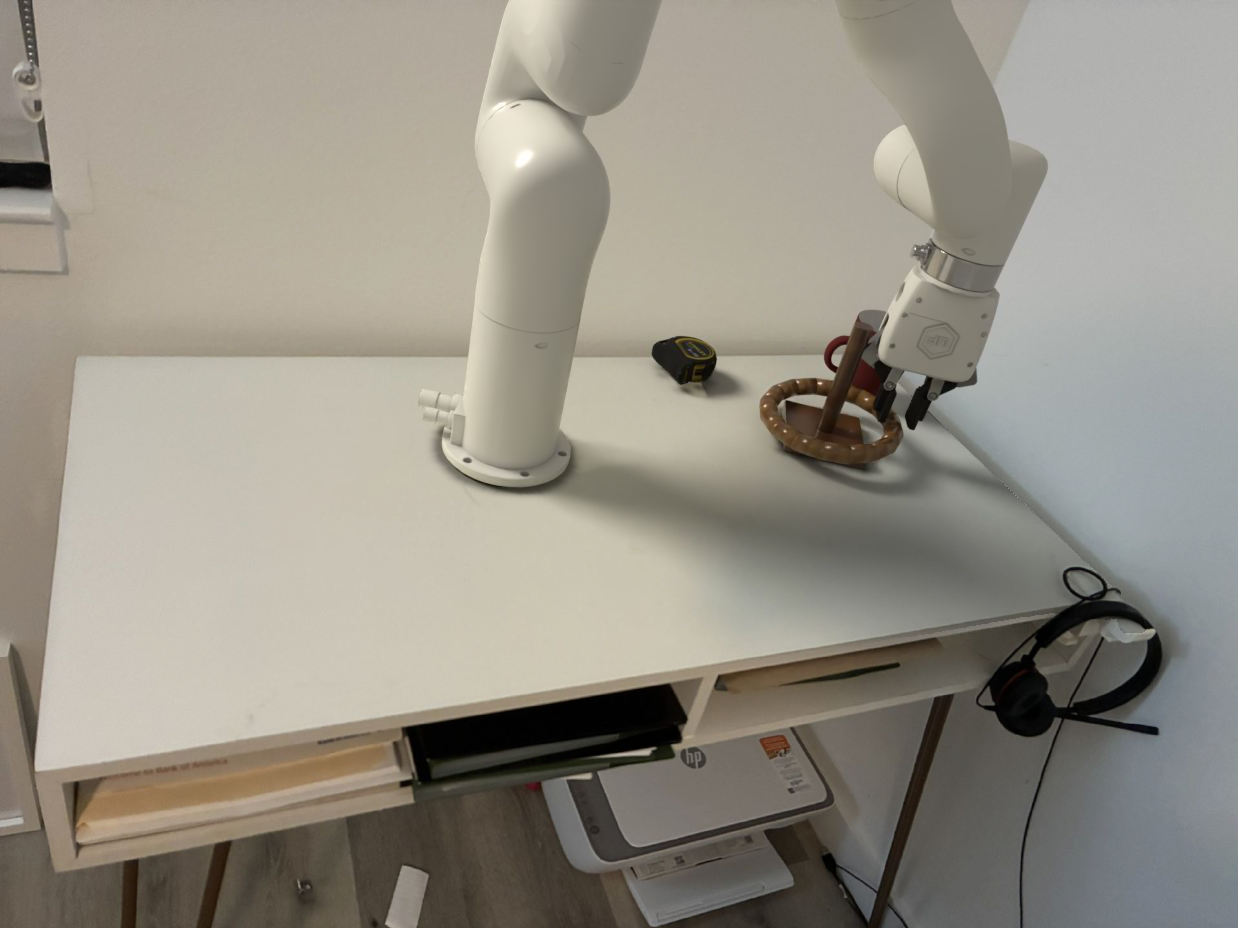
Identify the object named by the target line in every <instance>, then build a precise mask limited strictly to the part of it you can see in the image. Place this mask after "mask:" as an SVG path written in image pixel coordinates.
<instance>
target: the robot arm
mask: <svg viewBox="0 0 1238 928" xmlns="http://www.w3.org/2000/svg"><path fill="white" fill-rule="evenodd" d="M662 2H663V0H508V1H507V4H506V6H505V9H504V12H503V15H502V18H501V22H500V25H499V30H498V34H497V37H496V41H495V45H494V50H493V54H492V57H491V62H490V66H489V69H488V70H489V71H488V75H487V79H486V82H485V88H484V90H483V95H482V100H481V104H480V108H479V113H478V117H477V118H478V119H477V121H476V122H477V123H476V128H475V135H474V155H475V161H476V164H477V168H478V171H479V173H480V176H481V178H482V181H483V183H484V186H485V189H486V192H487V194H488V197H489V216H488V223H487V229H486V234H485V238H484V242H483V245H482V250H481V254H480V259H479V265H478V271H477V278H476V286H475V294H474V306H473V313H472V314H473V315H472V320H471V321H472V322H471V330H470V338H469V346H468V356H467V364H466V370H465V371H466V372H465V380H464V388H463V394H460V393H455V392H454V393H453V395H449V394H444V393H441V392H440V391H436V390H432V389H427V388H422V389H421V390H420V393H419V396H418V400H417V407H418V408H419V409H423V410H424V411H423V415H422V420H423V421H424V422H429V423H433V424H439V425H444V428H443V430H442V434H441V448H442V452H443V454H444V456H445V458H446V459H447V460H448V462H449V463H451V465H452V466H453V467H454V468H456V469H457V470H458V471H460V472H461V473H462V474H464V475H466V476H468V477H470V478H472V479H474V480H477V481H480V482H482V483H485V484H488V485H489V484H490V485H493V486H498V487H506V488H527V487H536V486H539V485H544V484H546V483H549V482H551V481H553V480H555V479H557V478H558V477H559V476H560V475H562V474H563V473H564V472H565V470H566V469H567V468H568V465H569V463H570V459H571V453H572V449H571V443H570V441H569V439H568V437H567V435H566V434H565V433H564V431H562V430H561V428H560V427H561V423H562V416H563V411H564V407H565V402H566V396H567V391H568V386H569V380H570V376H571V370H572V366H573V360H574V355H575V349H576V345H577V339H578V333H579V329H580V323H581V318H582V312H583V307H584V302H585V297H586V292H587V288H588V285H589V284H588V283H589V280H590V276H591V275H590V274H591V271H592V267H593V265H594V262H595V258H596V255H597V253H598V251H599V247H600V244H601V241H602V239H603V236H604V233H605V231H606V227H607V224H608V219H609V215H610V211H611V184H610V180H609V175H608V172H607V169H606V167H605V163H603V160H602V158H601V155H600V154H599V153H598V151H597V149H596V148H595V147H594V145H593V144H592V143H591V141H590V140H589V139H588V137H587V136H586V135H585V133H584V130H585V126H586V123H587V119H588V117H597V116H602V115H605V114H607V113H609V112H611V111H613V110H614V109H616V108H617V107H618V106H620V105H621V104H622V103H623V102H624V101H625V100H626V99H627V98H628V96H629V95H630V94H631V92H632V90H633V88H634V86H635V84H636V82H637V80H638V78H639V75H640V73H641V69H642V67H643V63H644V61H645V58H646V57H645V56H646V54H647V50H648V47H649V43H650V41H651V37H652V34H653V31H654V28H655V24H656V22H657V18H658V14H659V11H660V9H661V5H662ZM835 2H836V7H837V10H838V14H839V19H840V22H841V26H842V30H843V35H844V38H845V42H846V45H847V48H848V50H849V51H850V53H851V54H852V57H853V58H854V60H855V61H856V62H857V64H858V66H859V67H860V68H861V70H862V71H863V73H864V75H865V76H866V77H867V79H868V80H869V81H870V82H871V83H872V84H873V85H874V87H875V88H876V89H877V90H878V91H879V92H880V93H881V94H882V95H883V96H884V97H885V99H886V100H887V101H888V102H889V104H890V105H891V106H892V107H893V109H894V110H895V112H896V113H897V114H898V117H900V119H901V120H902V122H903V124H902V125H900V126H897V127H896V128H894V129H892V130H891V131H890V132H889V133H887V134H886V135H885V136H884V137H883V139H881V141H880V143H879V144H878V145H877V148H876V150H875V153H874V157H873V173H874V177H875V179H876V182H877V183H878V185H879V187H880V188H881V189H882V191H883V192H884V193H885V194H886V195H887V196H888V197H890V198H891V199H892V200H893V201H894V202H896V203H897V204H899V205H900V206H902V208H904V209H906V211H908V212H910V213H911V214H913V215H914V216H916V217H917V218H918V219H920V220H921V221H923V222H924V223H925V224H926V225H928V226H929V227H930V228H931V229H933V233H932V235H931V238H928V241H927V242H926V243H925V244H921V245H920V244H919V245H918V244H913V245H912V248H911V250H910V253H909V254H910V255H909V258H910V259H911V258H912V259H916V261H917V262H919V263H920V264H915V265H913V266H912V268H911V270H910V271H909V272H908V274H907V275H906V277H905V278H904V280H903V281H902V283H901V285H900V287H899V288H898V289H897V292H896V293H895V295H894V297H893V299H892V301H891V302H890V304H889V307H888V309H887V311H886V312H887V313H886V315H885V317H884V319H883V321H882V323H881V326H880V328H879V331H878V332H877V333H876V334H875V335H874V336H873V337H872V338H871V339H870V340H869V342H868V344H867V347H866V348H865V350H864V352H863V355H862V358H861V359H862V360H864V361H865V362H866V363H867V364H868V365H870V366H871V367H873V368H874V369H875V371H876V373H877V375H878V377H879V378H880V380H881V382H882V383H881V385H880V388H879V390H878V393H877V395H876V397H875V400H874V403H873V410H875V411H876V415H877V419H876V420H877V422H878V423H880V422H881V423H883V422H885V421H886V419H887V417H888V414H889V412H890V410H891V409H892V408H893V405H894V403H895V400H896V398H897V397H898V396H897V394H898V393H897V392H898V391H897V389H896V388H897V387H898V386H897V384H898V382H899V380H900V379H901V377H902V376H901V374H902V373H903V371H904V372H909V373H913V374H917V375H920V376H925V378H924V382H923V384H922V385H918V386H917V387H916V388H915V390H914V392H913V394H912V397H911V399H910V402H909V403H908V406H907V408H906V410H905V413H904V420H905V424H906V427H907V428H908V430H910V431H915V430H916V428H917V426H918V424H919V422H923V421H924V420H925V418H926V416H927V412H928V410H929V408H930V406H931V404H932V402H934V401H937V400H938V399H939V398H940V396H943V395H944V394H947V393H949V392H951V391H953V390H955V389H956V388H959V389H960V388H964V387H971V386H975V385H976V384H977V383H978V370H977V367H978V364H979V362H980V359H981V357H982V355H983V352H984V349H985V346H986V344H987V341H988V338H989V335H990V333H991V330H992V326H993V323H994V321H995V317H996V313H997V311H998V306H999V303H1000V297H1001V295H1000V292H999V291H998V290H997V288H996V285H997V283H998V280H999V278H1000V276H1001V274H1002V271H1003V270H1004V268H1005V265H1006V263H1007V261H1008V260H1009V257H1010V254H1011V253H1012V251H1013V248H1014V246H1015V244H1016V242H1017V240H1018V238H1019V235H1020V232H1021V231H1022V229H1023V227H1024V224H1025V222H1026V220H1027V218H1028V216H1029V213H1030V212H1031V209H1032V207H1033V205H1034V203H1035V201H1036V199H1037V196H1038V195H1039V192H1040V190H1041V188H1042V186H1043V183H1044V181H1045V179H1046V176H1047V174H1048V168H1049V163H1048V159H1047V157H1046V156H1045V154H1043V153H1042V152H1041V151H1039V150H1037V149H1036V148H1034V147H1032V146H1029V145H1027V144H1024V143H1022V142H1018V141H1016V140H1011V139H1009V135H1008V129H1007V128H1008V127H1007V125H1006V119H1005V116H1004V113H1003V110H1002V109H1003V108H1002V106H1001V103H1000V100H999V98H998V95H997V92H996V90H995V88H994V86H993V84H992V82H991V81H992V80H990V78H989V76H988V74H987V71H986V70H985V68H984V66H983V64H982V62H981V60H980V58H979V56H978V54H977V52H976V50H975V48H974V45H973V44H972V41H971V39H970V37H969V35H968V33H967V31H966V30H965V28H964V26H963V24H962V23H961V21H960V19H959V17H958V16H957V13H956V11H955V8H954V5H953V1H952V0H835ZM877 352H878V354H877ZM903 374H904V373H903ZM903 374H902V375H903ZM900 376H901V377H900ZM899 378H900V379H899ZM881 423H880V424H881Z"/></svg>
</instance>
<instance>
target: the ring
mask: <svg viewBox="0 0 1238 928" xmlns="http://www.w3.org/2000/svg"><path fill="white" fill-rule="evenodd" d="M833 380H834V379H825V378H819V377H802V378H791V379H788V380H784V381H781V382H779V383H776V384H774V385H773V384H772V386H770V388H768V390H767V391H766V392H765V393H764V394H763V395H762V396H761V398H760V400H759V418H760V421H761V422H762V423H763V425H764V426H765V428H766V429H767V430H768V432H769V433H770V435H772V437H774V438H775V439H777V440H778V441H779V442H781V443H782V444H783V443H784V444H785V445H787V446H788V447H790V448H791V449H793V450H795V451H798V452H800V453H803V454H806V455H808V456H807V457H809V456H811V457H810V458H813V457H814V459H817V460H820V461H824V462H830V461H831V462H830V463H834V462H837V463H836V464H839V463H844V464H857V463H865V464H866V463H868V464H869V463H875V462H877V461H880V460H882V459H884V458H886V457H888V456H890V455H893V454H894V453H895V452H896V451H897V449H898V447H899V446H900V444H901V443H902V441H903V439H904V435H905V433H904V430H903V426H902V422H901V419H900V415H898V414H897V413H896V412H895V411H894V410H893V409H892V408H891V410H890V412H889V414H888V417H887V419H886V421H885V422H883V423H881V422H879V424H880V425H881V426H882V430H883V435H882V436H881V438H879V439H876V440H874V441H872V442H869V443H864V444H859V445H844V444H838V443H831V442H825V441H822V440H819V439H817V438H814V437H811V436H809V435H806V434H803V433H801V432H800V431H798V430H797V429H795V428H794V427H792V426H791V425H789V424H787V423H786V422H785V421H784V419H783V418H782V415H781V414H780V413H779V405H780V404H781V403H782V401H785V400H788V399H791V398H792V397H796V396H797V397H799V396H821V397H826V398H827V396H828V393H829V390H830V388H831V385H832V383H833ZM875 397H876V396H874V395H872V394H871V393H869V392H867V391H865V390H863V389H861V388H858V387H855V386H852V385H851V387H850V390H849V392H848V395H847V397H846V400H845V402H846V403H849V404H852V405H855V406H857V407H858V408H860V409H861V410H863V411H864V412H867V413H868V414H870V415H872V416H873V417H874V418H875V419H876V420H877V415H876V411H875V410H873V403H874V400H875Z"/></svg>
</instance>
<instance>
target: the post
mask: <svg viewBox="0 0 1238 928" xmlns="http://www.w3.org/2000/svg"><path fill="white" fill-rule="evenodd" d="M854 324H855V325H854ZM854 324H853V326H854V327H853V326H852V329H853V330H852V329H851V331H852V333H851V332H850V334H851V335H850V334H849V336H850V338H849V340H848V343H847V345H845V347H844V348H845V349H844V352H843V354H842V357H841V359H840V362H839V365H838V366H837V367H838V369H837V372H836V373H835V375H834V377H833V379H832V380H833V383H832V385H831V388H830V390H829V393H828V396H827V397H826V398H825V402H824V404H823V407H822V408H821V407H817V406H814V405H813V406H812V405H809V404H805V403H800V402H796V401H792V400H788V399H785V400H784V402H783V405H782V408H781V417H782V418H783V419H784V421H785V422H786V423H787V424H789V425H791V426H792V427H794V428H795V429H797V430H798V431H800V432H801V433H803V434H806V435H809V436H811V437H814V438H817V439H819V440H822V441H825V442H831V443H838V444H844V445H859V444H865V441H864V440H865V439H864V434H863V430H862V424H861V420H860V419H861V418H860V417H859V416H854V415H850V414H847V413H842V410H843V407H844V405H845V402H846V401H845V400H846V397H847V395H848V392H849V390H850V387H851V385H852V382H853V380H854V377H855V375H856V372H857V370H858V367H859V365H860V362H861V358H862V355H863V352H864V350H865V348H866V347H867V344H868V342H869V339H870V337H871V334H872V332H873V327H872V326H871V325H869V324H867V323H864V322H856V323H855V322H854ZM782 446H783V447H782V448H783V449H782V450H783V451H785V452H788V453H793V454H797V455H802V456H804V457H805V456H806V457H810V458H814V457H811V456H808V455H806V454H803V453H800V452H798V451H795V450H793V449H791V448H790V447H788V446H787V445H785V444H784V443H783V442H782ZM814 459H815V458H814ZM829 462H830V463H832V462H831V461H829ZM833 463H835V464H838V465H843V466H848V467H851V468H856V469H859V470H863V469H864V466H865V464H866V463H857V464H844V463H837V462H833Z"/></svg>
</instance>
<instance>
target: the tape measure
mask: <svg viewBox="0 0 1238 928" xmlns="http://www.w3.org/2000/svg"><path fill="white" fill-rule="evenodd" d="M651 357H652V358H653V360H654V361H655V363H657V364H658V365H659V366H660V367H661V368H662V369H663V370H664V371H666V372H667V373H668V374H669V375H670V376H671V377H672V379H673V380H674V381H675V382H676V383H678V384H679V385H680V386H683V385H688V384H689V383H694V384H695V383H697V384H698V383H703V382H705V381H707V380H708V379H709V378H710V377H712V375H713V373H714V371H715V369H716V366H717V362H718V357H717V352H716V351H715V349H714V347H713V346H711V345H710V344H709V343H708V342H705V341H704V340H702V339H701V338H700V339H699V338H697V337H694V336H693V337H692V336H687V335H676V336H672V337H670V338H665V339H662V340H658V341H656V342H655V343H654V344H653V345H652V349H651Z"/></svg>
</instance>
